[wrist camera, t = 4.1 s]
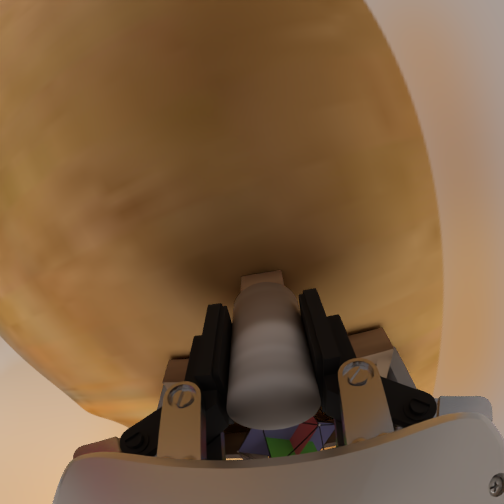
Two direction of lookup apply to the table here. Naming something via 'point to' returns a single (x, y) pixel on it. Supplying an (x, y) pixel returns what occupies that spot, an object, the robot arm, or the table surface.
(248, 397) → the brown open frame
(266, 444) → the geometric puzzle
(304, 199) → the table surface
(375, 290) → the table surface
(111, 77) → the table surface
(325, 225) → the table surface
